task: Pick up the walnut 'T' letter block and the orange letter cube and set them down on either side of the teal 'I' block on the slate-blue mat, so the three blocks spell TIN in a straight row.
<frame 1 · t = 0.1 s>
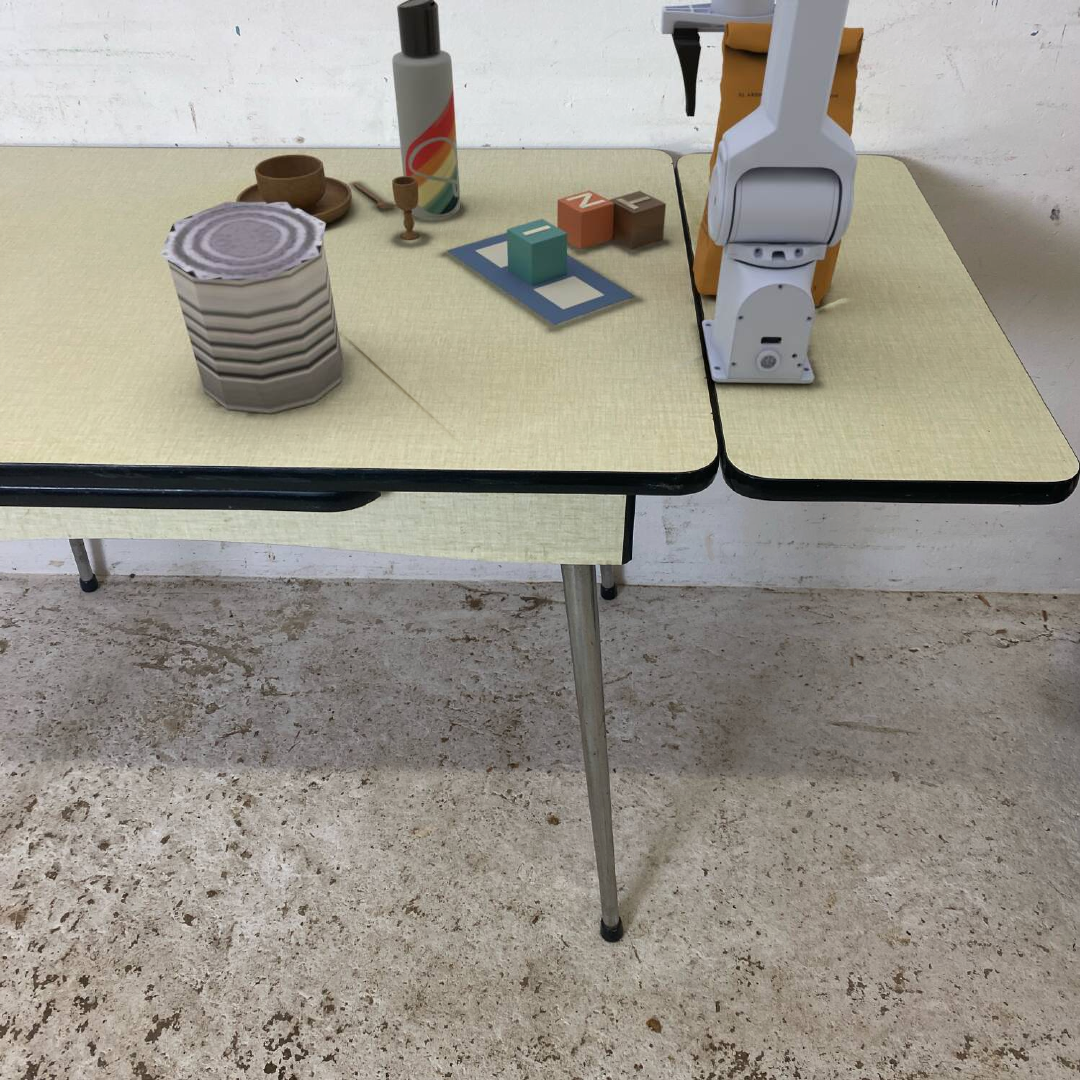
hand: (728, 113, 93), 10 cm above the table, tool pointing down, fingers open, 7 cm apart
place setting: (314, 226, 98), on the table
orange letter cube: (584, 240, 95), on the table, touching tile T
can: (275, 377, 76), on the table
tile I: (537, 272, 89), resting on word mat
word mat: (537, 276, 89), on the table
coffee package: (758, 290, 87), on the table
tile T: (634, 240, 95), on the table, touching orange letter cube
lotion bottle: (434, 212, 101), on the table
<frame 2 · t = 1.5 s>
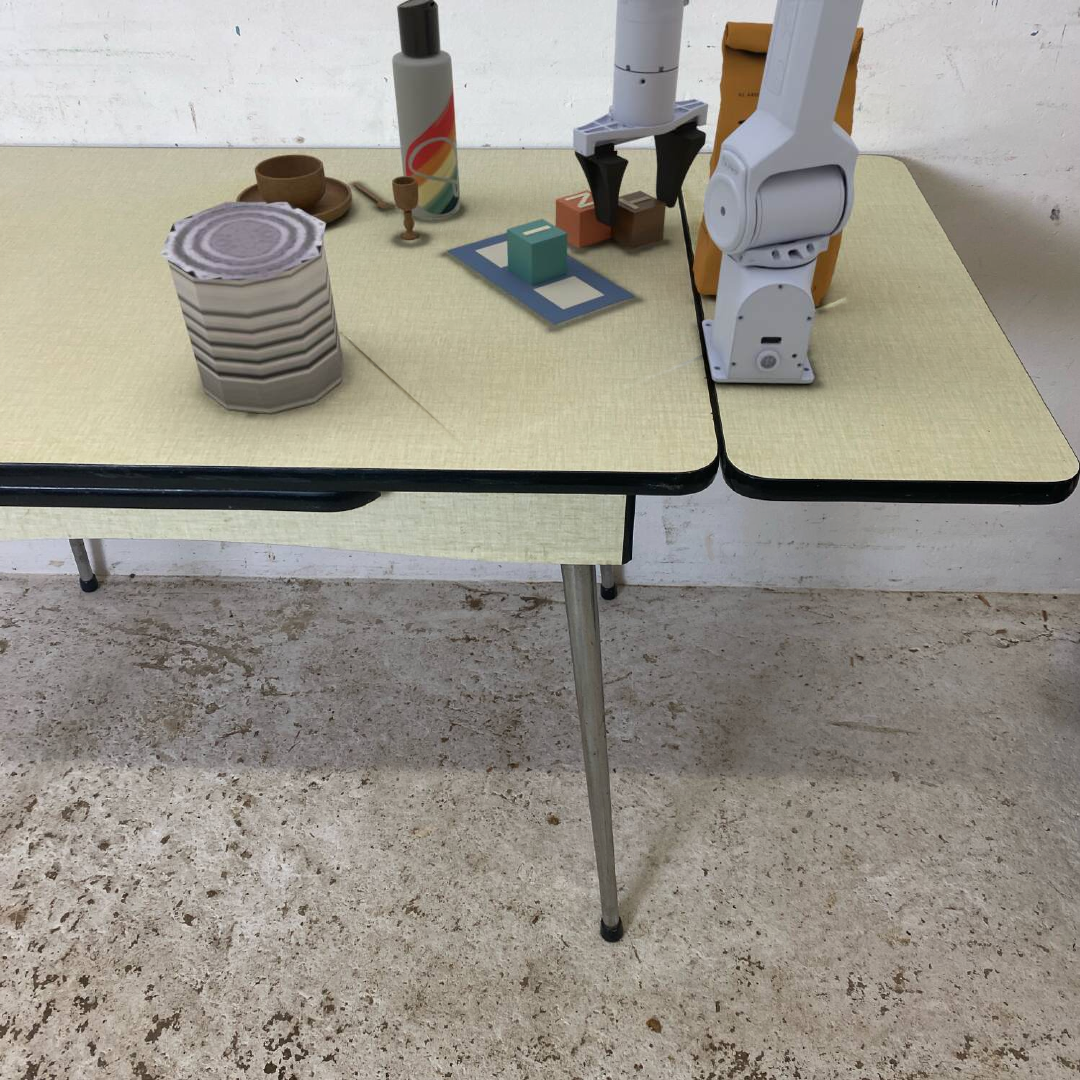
hand: (636, 213, 93), 3 cm above the table, tool pointing down, fingers open, 7 cm apart
orange letter cube: (582, 239, 95), on the table, touching gripper
tile T: (634, 240, 95), on the table
everything else where it was.
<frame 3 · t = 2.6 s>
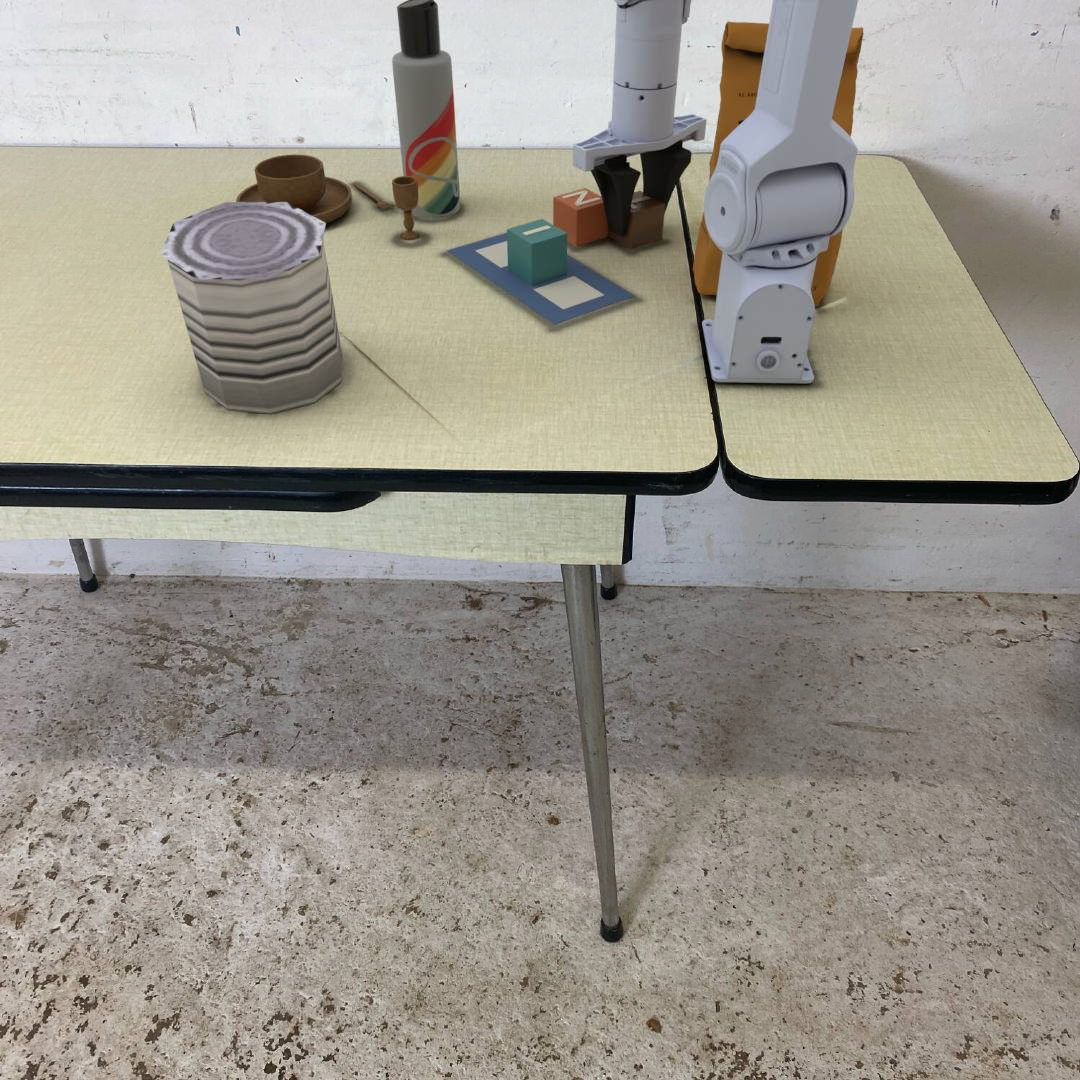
hand: (635, 227, 94), 1 cm above the table, tool pointing down, fingers closed on tile T, 4 cm apart
orange letter cube: (580, 237, 95), on the table, touching tile T
tile T: (633, 240, 95), on the table, touching gripper, orange letter cube
everything else where it was.
when the fingers open (2 cm above the table, at t = 13.9 s): tile T stays where it is, resting on word mat.
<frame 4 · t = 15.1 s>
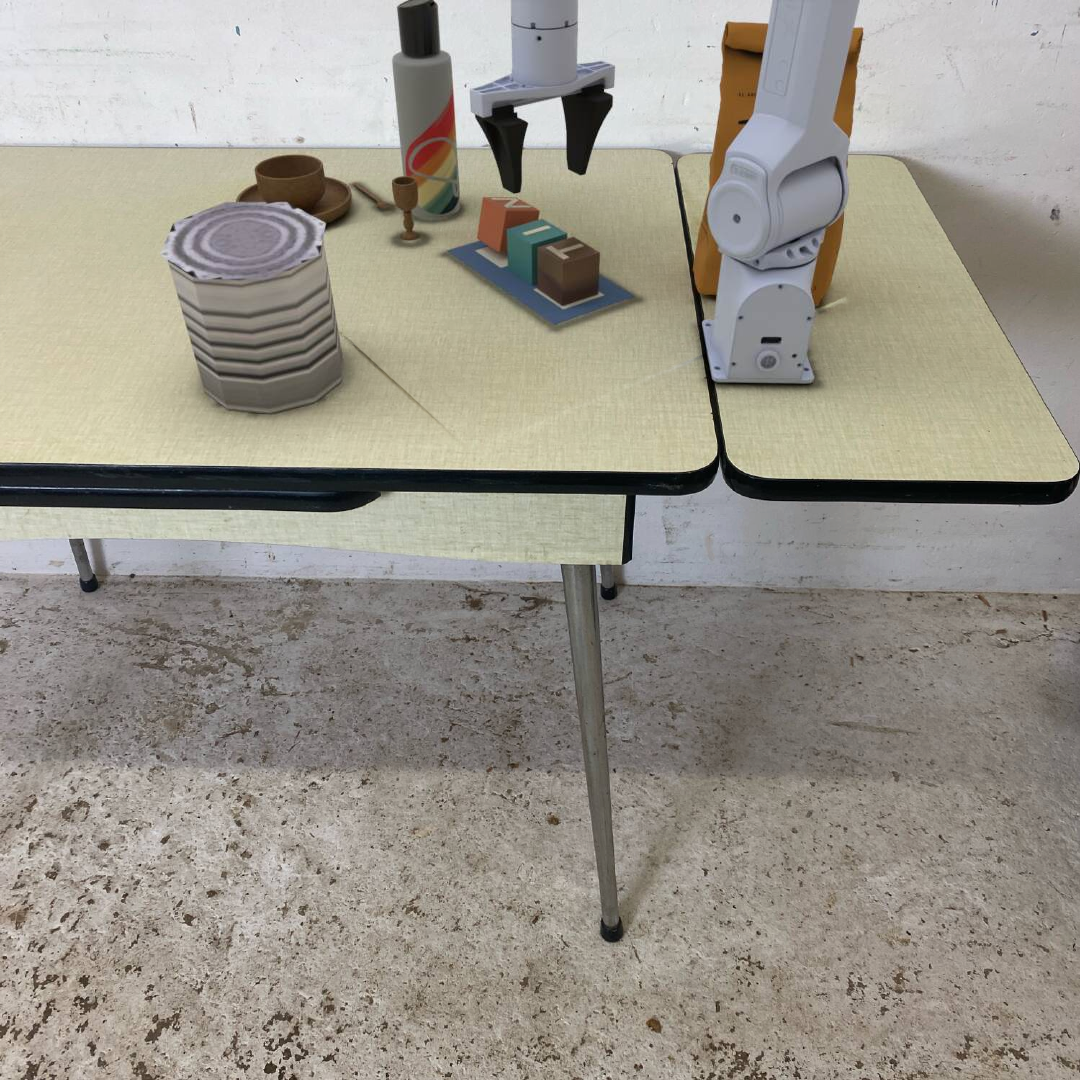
hand: (544, 180, 90), 6 cm above the table, tool pointing down, fingers open, 7 cm apart
orange letter cube: (504, 245, 92), point 1 cm above the table, tilted 14°, touching word mat
tile T: (567, 291, 86), resting on word mat
everything else where it was.
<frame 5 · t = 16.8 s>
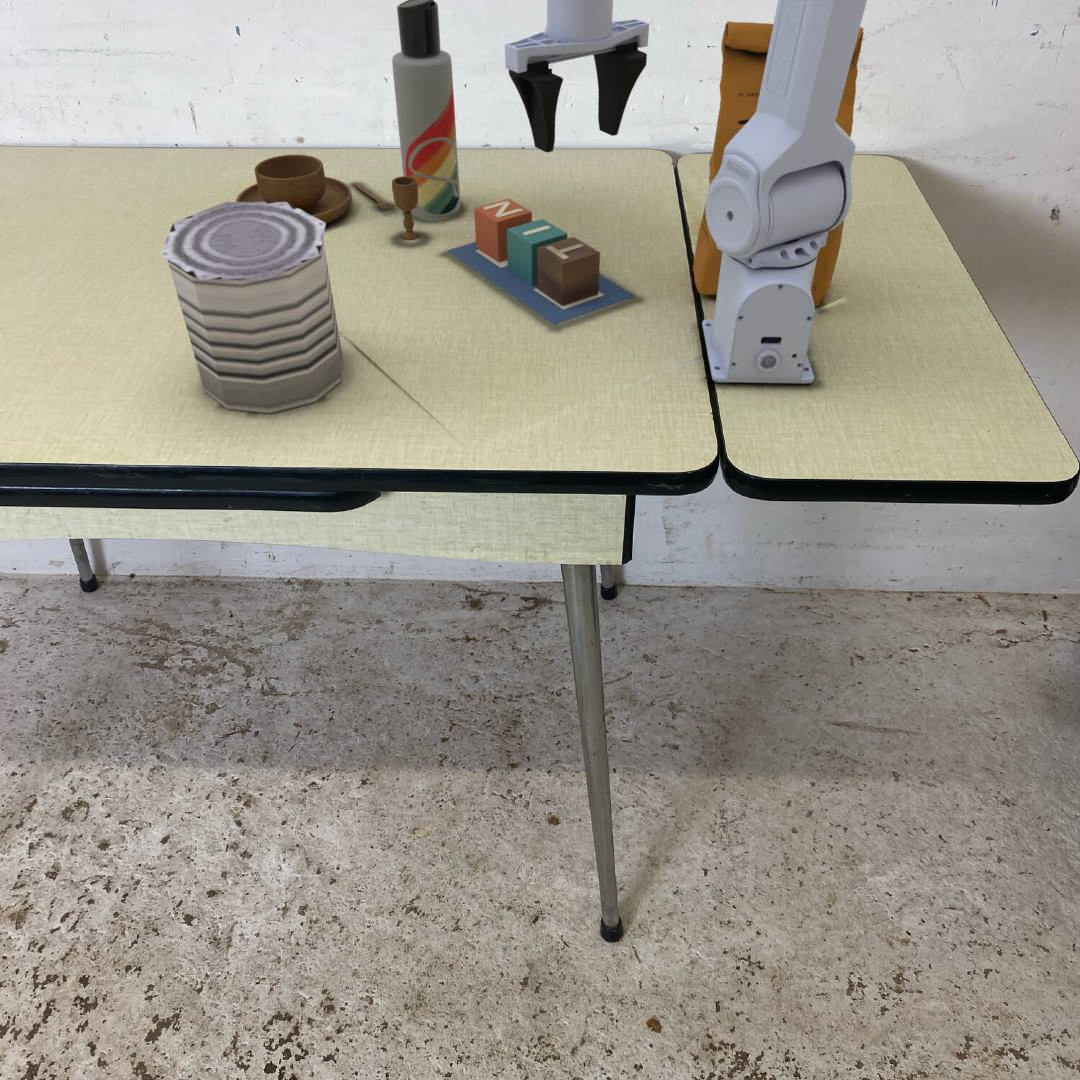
hand: (576, 140, 89), 9 cm above the table, tool pointing down, fingers open, 7 cm apart
orange letter cube: (504, 249, 92), resting on word mat
everything else where it was.
at the end: tile T 0.1 cm from the target spot, resting on word mat; orange letter cube 0.8 cm from the target spot, resting on word mat; tile I moved 0.0 cm from its start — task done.
